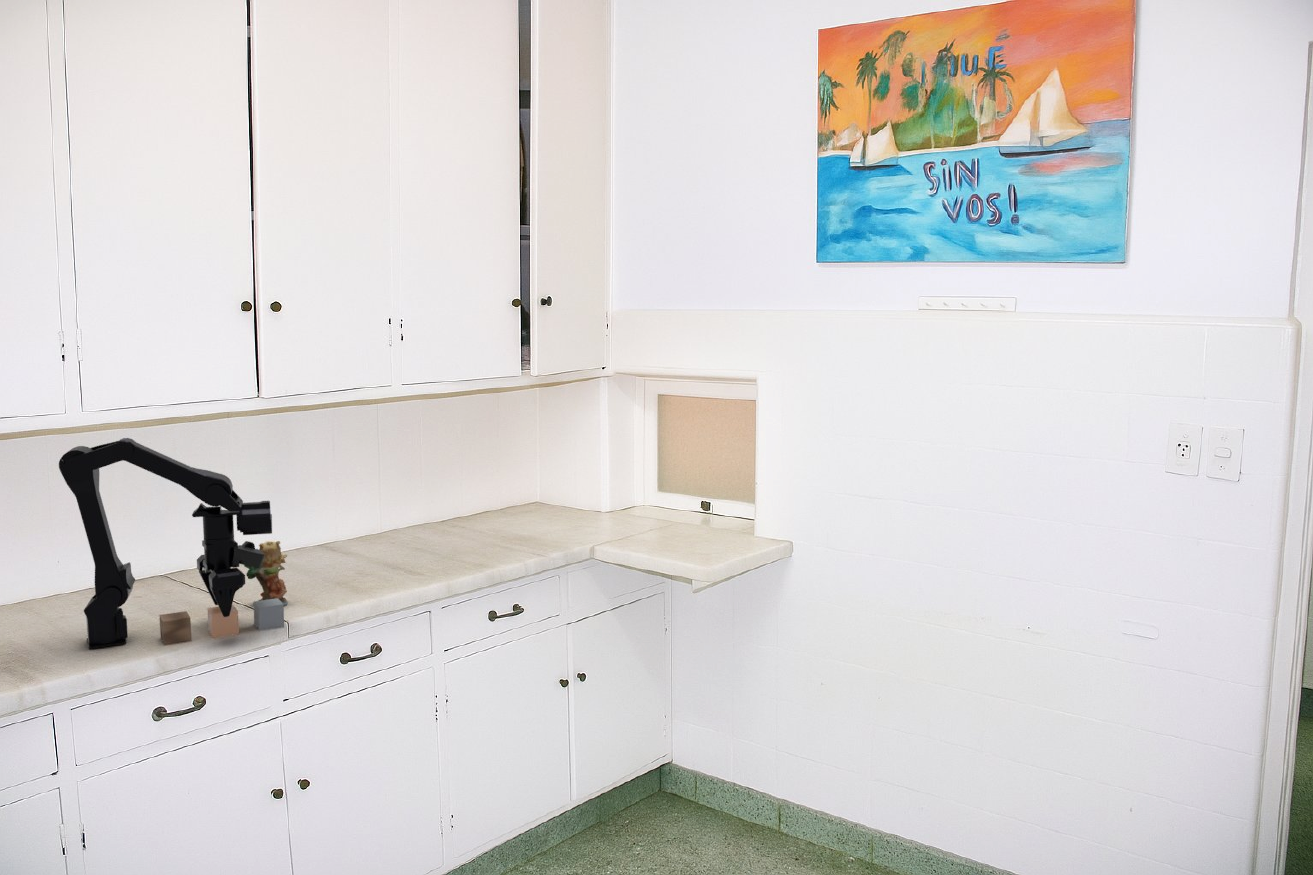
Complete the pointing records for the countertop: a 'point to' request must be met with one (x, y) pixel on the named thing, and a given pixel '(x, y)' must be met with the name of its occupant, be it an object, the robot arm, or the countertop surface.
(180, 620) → the walnut cube
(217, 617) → the terracotta cube
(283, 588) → the figurine
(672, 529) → the countertop surface
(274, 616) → the slate cube
